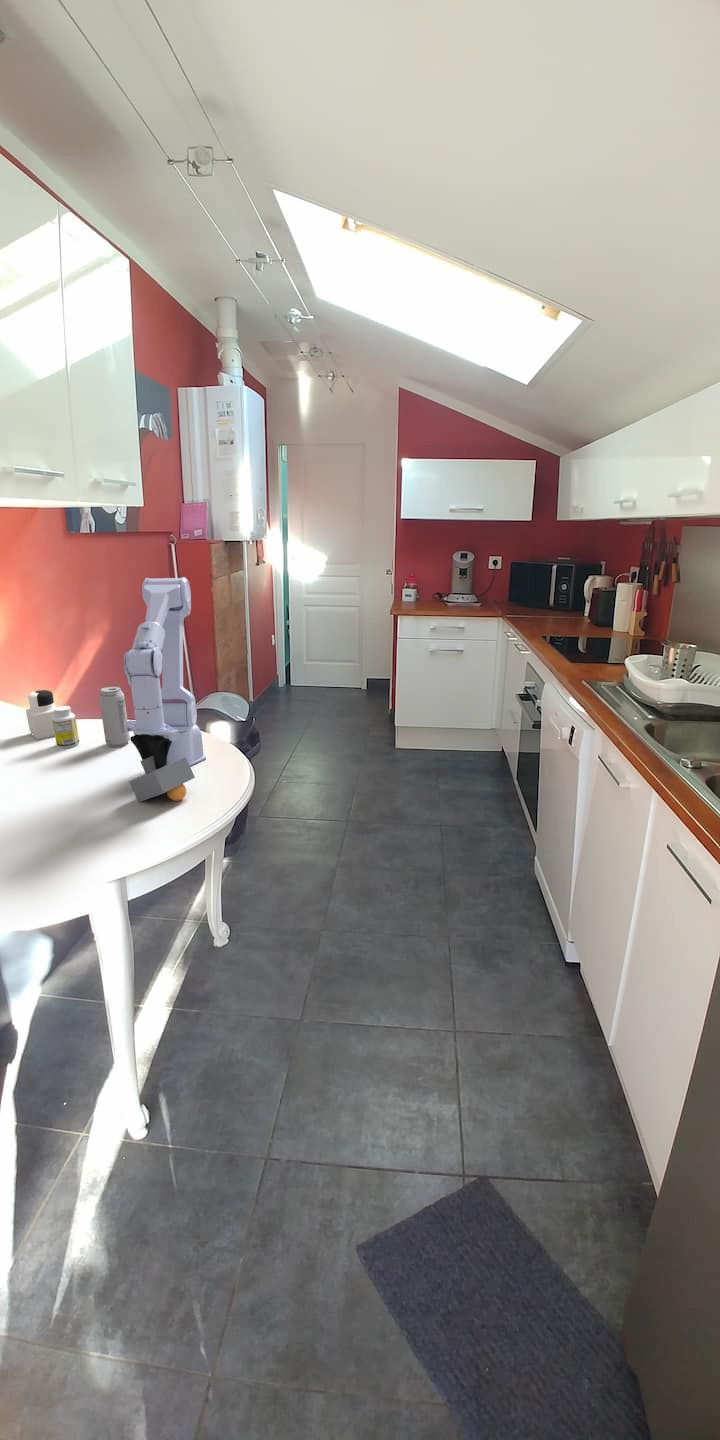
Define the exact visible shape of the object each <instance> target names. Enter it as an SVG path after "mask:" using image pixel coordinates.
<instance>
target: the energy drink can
mask: <svg viewBox="0 0 720 1440" xmlns="http://www.w3.org/2000/svg"><path fill="white" fill-rule="evenodd" d="M121 689H122V688H121V687H120V686H117V685H116V686H114V685H113V686H106V687H102V688H101V689H100V692H99V693H100V694H99V696H98V698H99V706H100V711H101V718H102V725H103V733H104V740H105V741H104V742H105V743H106V745H108V747H110V748H121V747H125V746H127V745H128V744H129V741H131V740H130V737H131V736H130V731H129V732H126V731H124V724H123V723H124V722H127V721H128V714H127V708H126V707H127V705H126V700H125V699H126V698H125V694H124V692H123V691H122V690H121Z"/></svg>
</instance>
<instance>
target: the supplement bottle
mask: <svg viewBox="0 0 720 1440" xmlns="http://www.w3.org/2000/svg"><path fill="white" fill-rule="evenodd" d="M54 714H55V715H54V716H53V717H52V722H53V728H54V733H55V736H54V738H55V743H56V746H57V747H58V748H61V749H70V748H74V747H76V746H78V745H79V743H80V736H79V731H78V726H77V725H78V724H77V720H76V715H75V714H74V713H73V712H72V709H71V706H69V705H62V706H56V708H54Z"/></svg>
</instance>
